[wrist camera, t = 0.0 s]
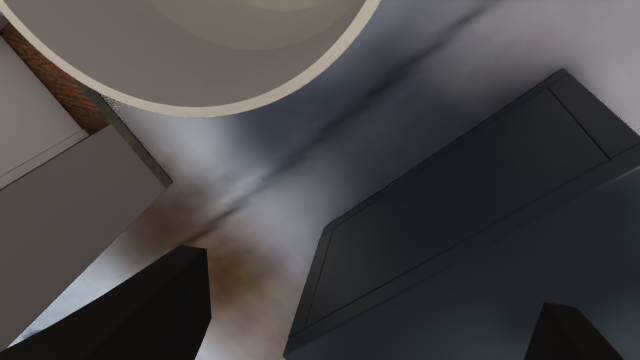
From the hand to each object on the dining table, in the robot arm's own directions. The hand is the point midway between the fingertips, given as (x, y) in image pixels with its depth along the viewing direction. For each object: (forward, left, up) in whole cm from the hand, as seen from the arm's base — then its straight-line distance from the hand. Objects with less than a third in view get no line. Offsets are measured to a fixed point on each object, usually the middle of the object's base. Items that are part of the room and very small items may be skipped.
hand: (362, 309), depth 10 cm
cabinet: (-5, -6, -10) cm, 13 cm away
